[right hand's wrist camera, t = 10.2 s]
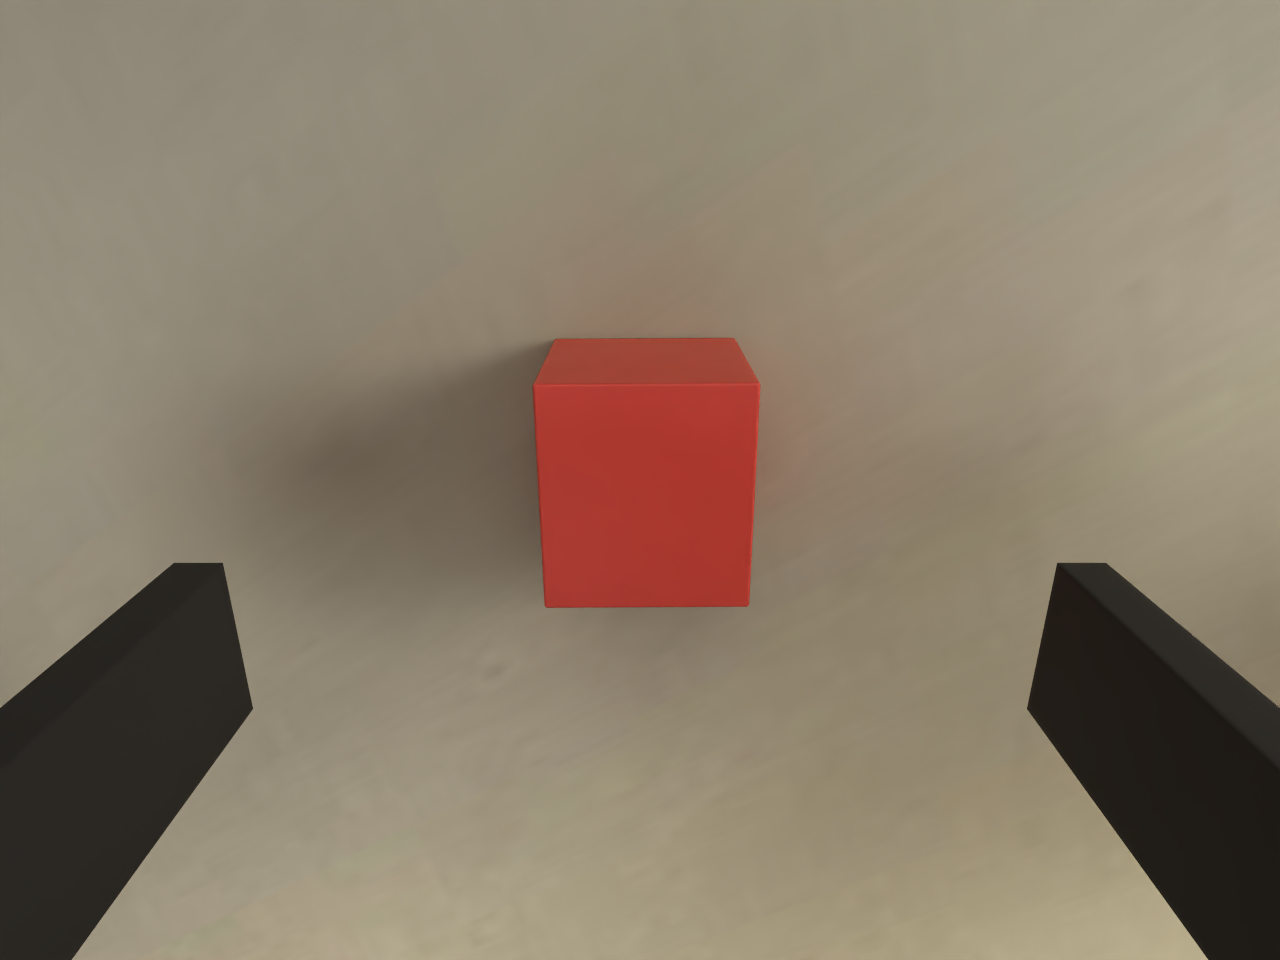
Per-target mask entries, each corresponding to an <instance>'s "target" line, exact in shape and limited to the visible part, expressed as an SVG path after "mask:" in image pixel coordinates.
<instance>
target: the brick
mask: <svg viewBox="0 0 1280 960" xmlns="http://www.w3.org/2000/svg"><path fill="white" fill-rule="evenodd" d="M759 400H760V383H759V381H758V380H757V378H756V376H755V374H754V372H753V371H752V369H751V367H750V365H749V363H748V362H747V360H746V358H745V356H744V355H743V353H742V351H741V349H740V347H739V346H738V344H737V342H736V340H735V339H734V338H649V339H555V340H554V342H553V344H552V347H551V349H550V351H549V353H548V355H547V357H546V359H545V361H544V363H543V365H542V367H541V369H540V371H539V374H538V376H537V378H536V380H535V382H534V384H533V403H534V421H535V440H536V458H537V476H538V494H539V512H540V530H541V548H542V566H543V584H544V602H545V607H547V608H572V607H747V606H748V605H749V596H750V577H751V557H752V538H753V518H754V498H755V479H756V459H757V439H758V420H759Z"/></svg>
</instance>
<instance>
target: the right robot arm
mask: <svg viewBox="0 0 1280 960" xmlns="http://www.w3.org/2000/svg"><path fill="white" fill-rule="evenodd" d="M252 709H253V707H252V702H251V697H250V692H249V687H248V683H247V678H246V673H245V668H244V663H243V658H242V654H241V649H240V644H239V639H238V634H237V629H236V625H235V620H234V615H233V610H232V605H231V600H230V596H229V591H228V586H227V581H226V576H225V572H224V567H223V563H173V564H172V565H171V566H170V567H169V568H167V569H166V570H165V571H164V572H163V573H161V574H160V575H159V576H158V577H157V578H155V579H154V580H153V581H152V582H151V583H149V584H148V585H147V586H146V587H145V588H143V589H142V590H141V591H140V592H139V593H137V594H136V595H135V596H134V597H133V598H131V599H130V600H129V601H128V602H127V603H126V604H124V605H123V606H122V607H121V608H120V609H118V610H117V611H116V612H115V613H114V614H112V615H111V616H110V617H109V618H108V619H106V620H105V621H104V622H103V623H102V624H100V625H99V626H98V627H97V628H96V629H94V630H93V631H92V632H91V633H90V634H88V635H87V636H86V637H85V638H84V639H82V640H81V641H80V642H79V643H78V644H76V645H75V646H74V647H73V648H72V649H70V650H69V651H68V652H67V653H66V654H64V655H63V656H62V657H61V658H60V659H58V660H57V661H56V662H55V663H54V664H52V665H51V666H50V667H49V668H48V669H47V670H45V671H44V672H43V673H42V674H41V675H39V676H38V677H37V678H36V679H35V680H33V681H32V682H31V683H30V684H29V685H27V686H26V687H25V688H24V689H23V690H21V691H20V692H19V693H18V694H17V695H15V696H14V697H13V698H12V699H11V700H9V701H8V702H7V703H6V704H5V705H3V706H2V707H1V708H0V960H72V958H73V957H74V956H75V954H76V953H77V951H78V950H79V949H80V947H81V946H82V945H83V943H84V942H85V940H86V939H87V938H88V936H89V935H90V933H91V932H92V931H93V929H94V928H95V927H96V925H97V924H98V922H99V921H100V920H101V918H102V917H103V915H104V914H105V913H106V911H107V910H108V909H109V907H110V906H111V904H112V903H113V902H114V900H115V899H116V898H117V896H118V895H119V893H120V892H121V891H122V889H123V888H124V886H125V885H126V884H127V882H128V881H129V880H130V878H131V877H132V875H133V874H134V873H135V871H136V870H137V868H138V867H139V866H140V864H141V863H142V862H143V860H144V859H145V857H146V856H147V855H148V853H149V852H150V850H151V849H152V848H153V846H154V845H155V844H156V842H157V841H158V839H159V838H160V837H161V835H162V834H163V833H164V831H165V830H166V828H167V827H168V826H169V824H170V823H171V821H172V820H173V819H174V817H175V816H176V815H177V813H178V812H179V810H180V809H181V808H182V806H183V805H184V803H185V802H186V801H187V799H188V798H189V797H190V795H191V794H192V792H193V791H194V790H195V788H196V787H197V786H198V784H199V783H200V781H201V780H202V779H203V777H204V776H205V774H206V773H207V772H208V770H209V769H210V768H211V766H212V765H213V763H214V762H215V761H216V759H217V758H218V756H219V755H220V754H221V752H222V751H223V750H224V748H225V747H226V745H227V744H228V743H229V741H230V740H231V739H232V737H233V736H234V734H235V733H236V732H237V730H238V729H239V727H240V726H241V725H242V723H243V722H244V721H245V719H246V718H247V716H248V715H249V714H250V712H251V711H252ZM1027 709H1028V711H1029V712H1030V714H1031V715H1032V716H1033V718H1034V719H1035V721H1036V722H1037V723H1038V725H1039V726H1040V727H1041V729H1042V730H1043V732H1044V733H1045V734H1046V736H1047V737H1048V739H1049V740H1050V741H1051V743H1052V744H1053V745H1054V747H1055V748H1056V750H1057V751H1058V752H1059V754H1060V755H1061V756H1062V758H1063V759H1064V761H1065V762H1066V763H1067V765H1068V766H1069V768H1070V769H1071V770H1072V772H1073V773H1074V774H1075V776H1076V777H1077V779H1078V780H1079V781H1080V783H1081V784H1082V786H1083V787H1084V788H1085V790H1086V791H1087V792H1088V794H1089V795H1090V797H1091V798H1092V799H1093V801H1094V802H1095V803H1096V805H1097V806H1098V808H1099V809H1100V810H1101V812H1102V813H1103V815H1104V816H1105V817H1106V819H1107V820H1108V821H1109V823H1110V824H1111V826H1112V827H1113V828H1114V830H1115V831H1116V833H1117V834H1118V835H1119V837H1120V838H1121V839H1122V841H1123V842H1124V844H1125V845H1126V846H1127V848H1128V849H1129V850H1130V852H1131V853H1132V855H1133V856H1134V857H1135V859H1136V860H1137V862H1138V863H1139V864H1140V866H1141V867H1142V868H1143V870H1144V871H1145V873H1146V874H1147V875H1148V877H1149V878H1150V880H1151V881H1152V882H1153V884H1154V885H1155V886H1156V888H1157V889H1158V891H1159V892H1160V893H1161V895H1162V896H1163V898H1164V899H1165V900H1166V902H1167V903H1168V904H1169V906H1170V907H1171V909H1172V910H1173V911H1174V913H1175V914H1176V915H1177V917H1178V918H1179V920H1180V921H1181V922H1182V924H1183V925H1184V927H1185V928H1186V929H1187V931H1188V932H1189V933H1190V935H1191V936H1192V938H1193V939H1194V940H1195V942H1196V943H1197V945H1198V946H1199V947H1200V949H1201V950H1202V951H1203V953H1204V954H1205V956H1206V957H1207V958H1208V960H1280V708H1279V707H1278V706H1277V705H1275V704H1274V703H1273V702H1272V701H1271V700H1269V699H1268V698H1267V697H1266V696H1265V695H1263V694H1262V693H1261V692H1260V691H1259V690H1257V689H1256V688H1255V687H1254V686H1253V685H1251V684H1250V683H1249V682H1248V681H1247V680H1245V679H1244V678H1243V677H1242V676H1241V675H1239V674H1238V673H1237V672H1236V671H1235V670H1233V669H1232V668H1231V667H1230V666H1229V665H1228V664H1226V663H1225V662H1224V661H1223V660H1222V659H1220V658H1219V657H1218V656H1217V655H1216V654H1214V653H1213V652H1212V651H1211V650H1210V649H1208V648H1207V647H1206V646H1205V645H1204V644H1202V643H1201V642H1200V641H1199V640H1198V639H1196V638H1195V637H1194V636H1193V635H1192V634H1190V633H1189V632H1188V631H1187V630H1186V629H1184V628H1183V627H1182V626H1181V625H1180V624H1178V623H1177V622H1176V621H1175V620H1174V619H1172V618H1171V617H1170V616H1169V615H1168V614H1166V613H1165V612H1164V611H1163V610H1162V609H1160V608H1159V607H1158V606H1157V605H1156V604H1154V603H1153V602H1152V601H1151V600H1150V599H1149V598H1147V597H1146V596H1145V595H1144V594H1143V593H1141V592H1140V591H1139V590H1138V589H1137V588H1135V587H1134V586H1133V585H1132V584H1131V583H1129V582H1128V581H1127V580H1126V579H1125V578H1123V577H1122V576H1121V575H1120V574H1119V573H1117V572H1116V571H1115V570H1114V569H1113V568H1111V567H1110V566H1109V565H1108V564H1107V563H1057V567H1056V572H1055V576H1054V581H1053V586H1052V591H1051V596H1050V600H1049V605H1048V610H1047V615H1046V620H1045V625H1044V629H1043V634H1042V639H1041V644H1040V649H1039V654H1038V658H1037V663H1036V668H1035V673H1034V678H1033V683H1032V687H1031V692H1030V697H1029V702H1028V707H1027Z"/></svg>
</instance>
